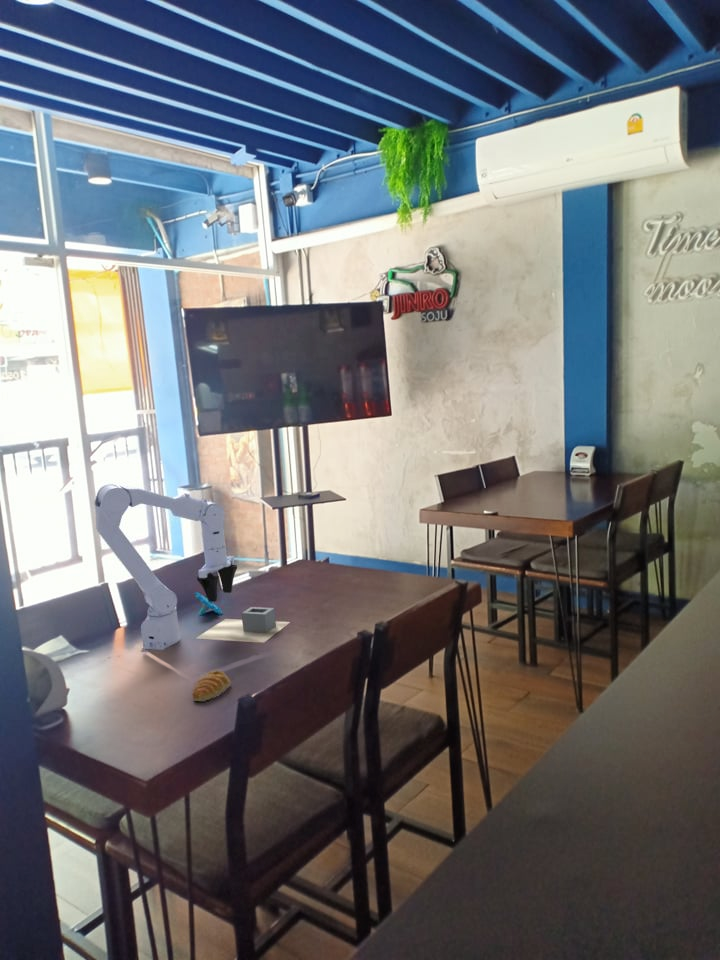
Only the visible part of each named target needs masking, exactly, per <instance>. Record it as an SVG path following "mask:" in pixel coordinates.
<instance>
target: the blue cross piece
mask: <svg viewBox="0 0 720 960" xmlns="http://www.w3.org/2000/svg"><path fill="white" fill-rule="evenodd" d="M194 596H195V597H196V599H198V600H199V601H200V602H201V603H202V608H201V609H200V610H199V612H198V615H197V616H204V614H205V613H206V612H207V611H208V610H210V609H212V611H213V612H214V613H216V614H218V615H219V616H221V615H224V612H223V611H222V609H221V607H218V606H217V605H216V604H215V603H214V602H209V601H208V598H207V597H205V596H204V595H203V594H201V593H199V592H195V593H194Z"/></svg>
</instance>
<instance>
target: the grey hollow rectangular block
mask: <svg viewBox="0 0 720 960" xmlns="http://www.w3.org/2000/svg"><path fill="white" fill-rule="evenodd" d="M275 611H276V610H275V607H262V606H261V607H260V606H259V607H258V606H250V607H249V608H247V609H246V610H243V612H241V620H242V623H243V631H244V632H260V633H268V632H269V631H270V630H272V629H273V628H274V627H276V614H275Z"/></svg>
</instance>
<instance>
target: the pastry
mask: <svg viewBox="0 0 720 960" xmlns="http://www.w3.org/2000/svg"><path fill="white" fill-rule="evenodd" d="M231 684H232V681H231V679H229V677H228V676H227V674H226V673H225V672H224V671H221V670H217V669H216V670H213V671H209V672H208V673H207V674H206V675H205V676H203V677H201V678H200V679H199V680H198V681H197V682H196V684H195V686H194V688H193V692H192V699H193V702H207V701H206V700H209V699H211V698H213V697H215V696H217V695H220V694H221V693H222V692H223V691H224V690H226V689H227V688H228V687H229V688H230V686H231ZM229 688H228V689H229ZM228 689H227V690H228ZM227 690H226V691H227ZM223 693H224V692H223ZM223 693H222V694H223ZM222 694H221V695H222ZM221 695H220V696H221ZM215 698H216V697H215ZM213 699H214V698H213ZM211 700H212V699H211Z"/></svg>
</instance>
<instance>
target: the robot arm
mask: <svg viewBox="0 0 720 960" xmlns="http://www.w3.org/2000/svg"><path fill="white" fill-rule="evenodd" d="M93 503H94V509H95V527H96V528H95V529H96V531H97V532H98V534H99V535H100V536H101V538H102V540H104V542H105V544H106V545H107V546H108V547H109V549H111V551H112V552H113V553H114V555H115V556H116V557H117V559H118V560H119V561H120V562H121V564H122V565H123V566H124V568H125V569H126V570H127V572H128V573H129V575H130V576H131V577H132V578H133V579H134V581H135V582H136V583H137V585H138V587H139V588H140V590H142V592H143V598H144V601H145V602H146V604H148V609H147V614H146V615H147V616H146V618H145V620H144V621H142V622H141V624H140V633H141V634H140V635H141V642H142V648H141V649H140V651H141V652H146V653H147V652H149V650H155V651H156V650H157V651H158V650H159V651H163V650H165V649H167V648H168V647H170V646H172V645H174V644H176V643H177V644H178V642H180V641H181V637H180V627H179V626H180V625H179V618H178V611H177V606H178V605H177V604H178V597H177V594H176V593H175V592H174V591H172V590H170V589H169V588H168V587H167V586H166V585H165V584H164V583H162V581H160V580H159V578H158V577H157V576H156V575H155V573H154V572H153V571H152V569H151V568H150V567H149V566H148V565H147V563H146V561H145V560H144V559H143V557H142V556H141V555H140V554H139V551H137V549H136V548H135V547H134V546H133V544H132V543H131V542H130V540H129V539H128V537H127V536H126V535H125V533H124V532H123V530H122V529H121V528H120V525H121V521H122V518H123V516H124V514H125V513H126V511H127V510H128V508H129V507H131V508H134V507H136V506H139V505H146V506H152V507H156V508H161V509H165V510H169V511H170V512H171V514H172V515H173V516H174V517H178V518H182V519H186V520H191V521H194V522H199V521H200V523H201V524H200V526H201V536H202V544H203V545H202V546H203V553H204V555H203V556H204V563H205V564H204V565H203V566H202V567H201V568H200V569H199V570H198V571H197V573H198V576H196V580H197V582H199V584H200V586H201V588H202V589H203V590H204V593H205V595H206V598H208V601H209V602H212V603H215V602H217V599H218V590H217V589H218V581H219V579H220V582H221V588H222V591H223V593H226V594H230V593H232V591H233V584H234V583H233V582H234V578H235V574H236V572H237V570H238V565H237V564H234V563H235V558H234V557H235V556H233V555H229V556H228V555H227V547H226V545H227V544H226V538H225V529H224V523H223V522H224V521H225V518H226V512H225V511H224V508H223V507H222V506H221V505H220V504H218V503H217V502H213V501H210V500H208V499H207V498H202V499H200V498H196V497H192V496H191V495H190V494H189V493H185V492H184V493H183V494H180V493H179V494H177V495H175V496H173V497H172V496H167V495H163V494H160V493H157V492H153V491H150V490H146V489H143V488H142V489H141V488H139V487H134V486H133V487H132V486H125V485H119V486H118V485H116V484H111V483H109V484H105V485H102V486H101V487H100V488H99V489H98V491H97V493H96V496H95V499H94V502H93ZM216 572H217V573H218V575H219V576H218V575H213V573H216Z"/></svg>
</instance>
